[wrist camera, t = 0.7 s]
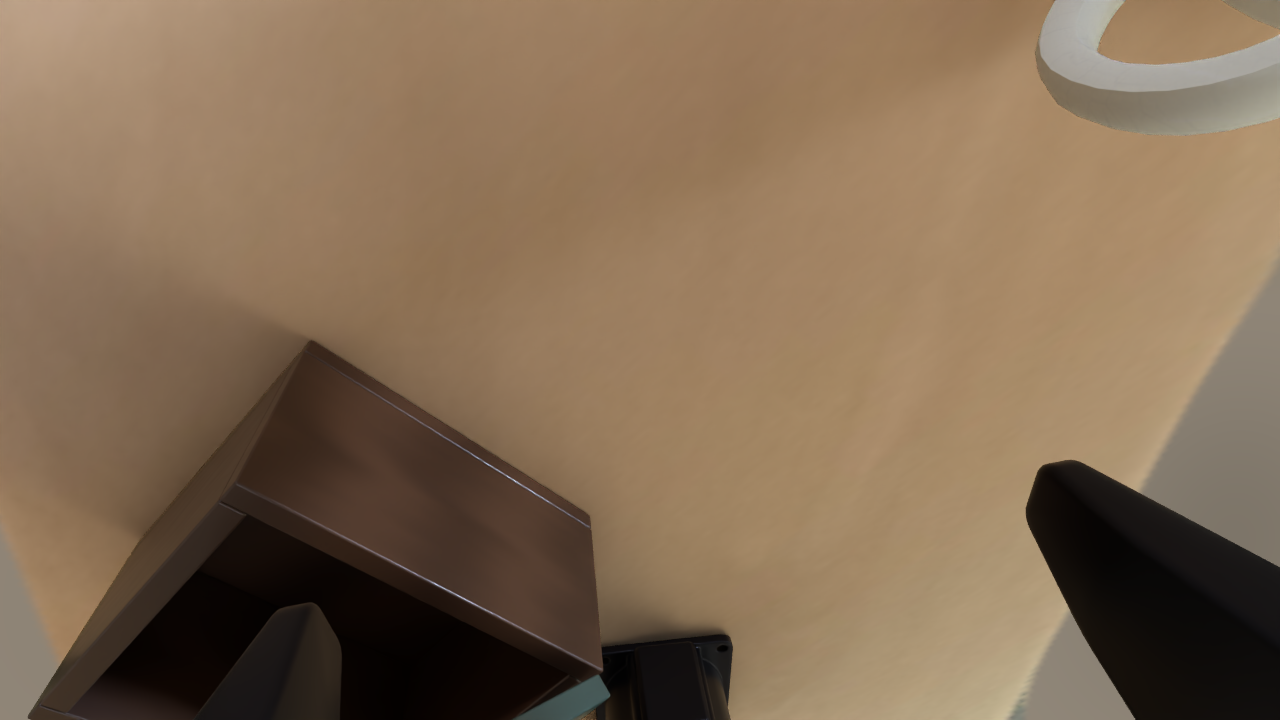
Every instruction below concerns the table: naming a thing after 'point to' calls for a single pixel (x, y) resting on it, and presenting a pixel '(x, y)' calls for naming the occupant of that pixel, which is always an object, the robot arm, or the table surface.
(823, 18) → the table surface
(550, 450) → the table surface
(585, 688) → the lid
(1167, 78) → the pitcher
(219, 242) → the table surface
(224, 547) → the chest
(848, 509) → the table surface
